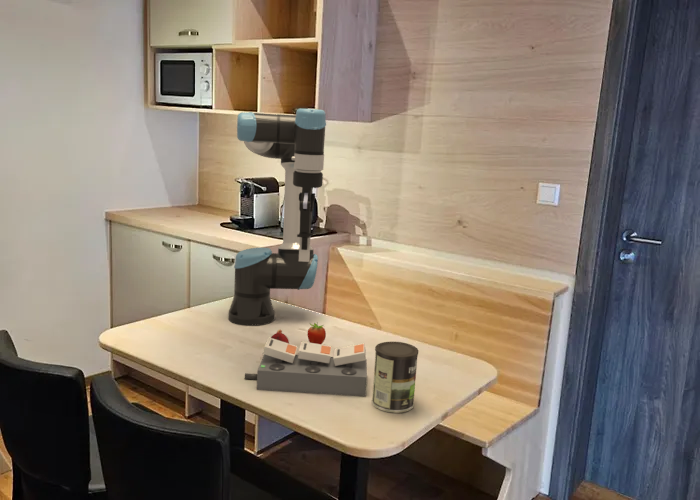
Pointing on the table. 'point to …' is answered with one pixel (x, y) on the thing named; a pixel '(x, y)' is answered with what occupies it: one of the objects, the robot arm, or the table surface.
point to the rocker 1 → (280, 350)
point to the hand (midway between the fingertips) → (304, 260)
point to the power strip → (311, 376)
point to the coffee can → (394, 376)
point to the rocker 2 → (314, 352)
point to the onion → (280, 336)
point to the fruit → (316, 334)
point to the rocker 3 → (349, 354)
